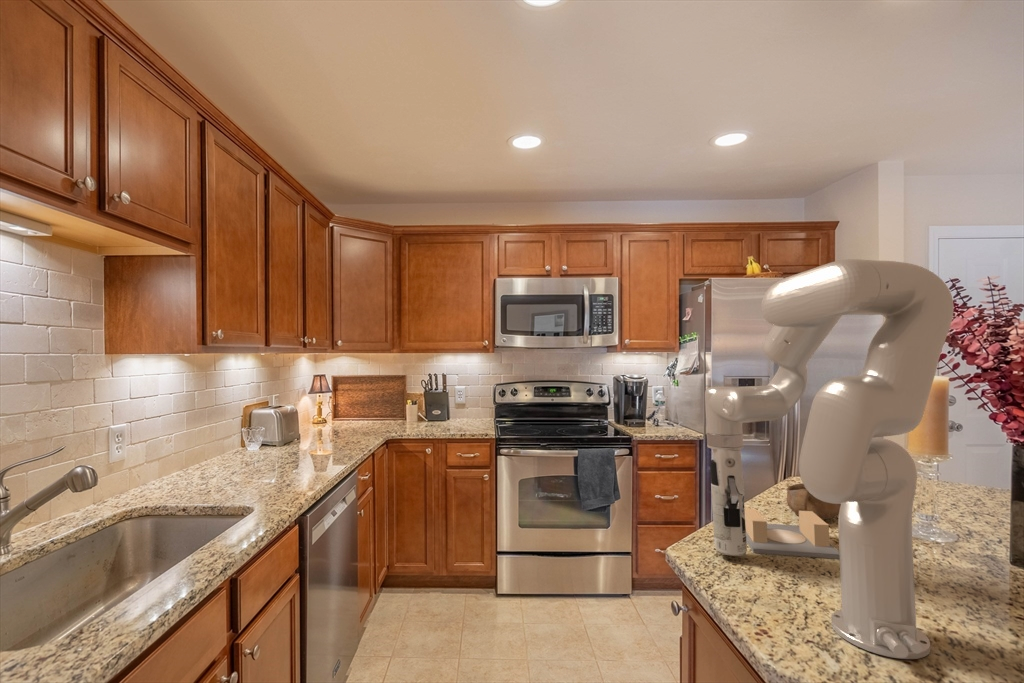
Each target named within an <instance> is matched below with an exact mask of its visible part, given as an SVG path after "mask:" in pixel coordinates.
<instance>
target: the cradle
mask: <svg viewBox="0 0 1024 683" xmlns="http://www.w3.org/2000/svg"><path fill="white" fill-rule="evenodd" d="M744 509H745V526H746V542H747V545H748V547H749V548H750V550H751V551H752V553H753V554H764V555H776V556H777V555H779V556H791V557H805V558H807V557H808V558H818V559H819V558H821V559H835V560H840V554H839V550H838V549H837V548H836V547H835V546H834V545H833V544H832V543H830V528H829V527H830V525H829V524H828V523H827V522H826V521H824V519H823V520H822V519H821V518H820V517H818V516H817V515H816V514H815V513H814V512H812V511H799V517H798V523H799V525H797V524H780V523H779V524H778V523H767V520H766V519H765V518H764V517H763V515H762V514H761V513H760V512H759V511H758V509H757V508H754V507H753V508H752V507H744Z"/></svg>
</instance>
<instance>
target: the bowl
mask: <svg viewBox="0 0 1024 683" xmlns="http://www.w3.org/2000/svg"><path fill="white" fill-rule="evenodd" d="M786 505H787V506H788V508H789V509H790V510H791V511H792V512H793V513H794V514H795V515H796V517H798V518H799V511H812V512H814V513H815V514H816V515H817V516H818V517H820V518H821V519H822V520H823V521H824V520H829V519H832V518H835V517H839V511H840V506H841V504H832V503H827V502H823V501H821V500H819V499H817V498H815V497H814V496H813V495H811V494H810V493H809V492H808V490H807V489H806V488H805V486H804V484H803V482H802V483H796V484H792V485H789V486H788V487H787V488H786Z"/></svg>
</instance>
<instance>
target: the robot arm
mask: <svg viewBox="0 0 1024 683" xmlns="http://www.w3.org/2000/svg"><path fill="white" fill-rule="evenodd" d="M760 304H761V306H760V310H761V314H762V317H763V318H764V319H765V321H766V322H767V323H768V324H770V325H772V327H771V329H770V330H769V331H768V333H767V334H766V337H765V338H764V339H763V341H762V344H761V349H762V352H763V353H764V355H765V356H766V357H767V359H769V360H770V361H772V362H773V363H774V364H776V365H777V366H778V368H777V371H776V372H775V374H774V376H773V377H772V378H771V380H769V382H768V384H767V385H751V386H750V385H749V386H739V387H738V386H737V387H736V386H711V387H707V388H706V390H705V392H704V406H705V407H704V408H705V424H706V427H705V428H706V446H707V448H709V449H711V451H712V460H714V462H716V465H717V477H718V484H719V490H720V493H721V494H723V496H724V503H725V507H723V509H724V525H725V526H726V527H740V526H741V524H740V508H739V500H738V493H739V494H740V495H742V496H743V495H744V496H745V493H746V490H745V489H746V488H745V480H744V469H743V468H744V467H743V463H742V462H743V460H742V456H741V450H743V449H744V434H743V433H744V432H743V424H744V423H748V424H749V423H757V422H766V421H767V422H769V421H777V420H780V419H782V418H783V417H785V416H786V415H788V413H789V412H791V411H792V410H793V408H794V407H795V405H796V404H797V403H798V402H799V400H800V399H801V398H802V396H803V395H804V393H805V391H806V388H807V383H808V370H807V369H808V368H807V364H808V362H809V361H810V359H811V358H812V356H813V355H814V354H815V352H816V351H817V350H818V349H819V347H820V346H821V344H823V342H824V340H825V339H826V338H827V336H828V335H829V334H830V332H831V331H832V330H833V329H834V327H835V326H836V324H837V323H838V321H839V320H840V319H841V318H842V316H845V315H846V316H850V315H851V316H852V315H853V316H854V315H855V316H856V315H857V316H858V315H859V316H861V315H862V316H867V315H868V316H876V315H877V316H883V317H884V319H885V320H884V321H883V322H884V323H883V324H882V325H881V326H880V328H879V329H878V330H877V332H876V333H875V334H874V336H873V338H872V339H871V341H870V343H869V345H868V349H867V353H866V359H865V362H864V365H863V368H862V370H861V371H860V372H861V373H860V374H859V375H844V376H841V377H836V378H833V379H831V380H829V381H828V382H826V383H825V384H823V386H821V388H819V389H818V391H817V393H816V394H815V396H814V398H813V400H812V403H811V406H810V408H809V409H810V410H809V414H808V419H807V423H806V427H805V432H804V435H803V439H802V444H801V449H800V453H799V459H798V470H799V471H798V472H799V476H800V480H801V482H802V483H803V484H804V486H805V488H806V489H807V490H808V492H809V493H810V494H811V495H813V496H814V497H815V498H817V499H819V500H821V501H823V502H827V503H832V504H841V506H840V511H839V515H838V547H839V548H838V549H839V550H838V551H839V554H840V559H839V570H840V571H839V574H840V577H839V578H840V593H841V594H840V595H841V596H840V597H841V598H840V599H841V609H838V610H836V611H834V612H833V613H832V614H831V616H830V623H831V627H832V628H833V630H834V631H835V632H836V634H838V635H839V636H840V637H841V638H842V639H844V640H846V641H847V642H849V643H850V644H852V645H854V646H856V647H858V648H860V649H861V650H862V649H863V650H865V651H867V652H871V653H873V654H877V655H879V656H883V657H888V658H892V659H899V660H900V659H901V660H917V659H922V658H925V657H927V656H928V655H929V654H930V653H931V641H930V639H929V637H928V636H927V635H926V634H925V633H924V632H923V631H921V630H920V629H919V628H918V627H917V616H916V615H917V613H916V610H917V609H916V591H915V574H914V573H915V570H914V567H915V566H914V552H913V551H914V550H913V548H914V547H913V545H914V544H913V543H914V542H913V541H914V540H913V508H914V501H915V494H916V490H917V482H918V473H917V466H916V464H915V462H914V459H913V457H912V456H911V454H910V452H908V450H906V449H905V447H903V446H902V445H900V444H898V443H897V442H894V441H893V440H890V439H889V438H888V439H887V438H883V437H892V436H899V435H903V434H908V433H910V432H911V431H914V430H915V429H916V428H917V427H918V426H919V425H920V424H921V422H922V419H923V417H924V414H925V411H926V406H927V403H928V400H929V396H930V393H931V389H932V386H933V383H934V380H935V376H936V372H937V368H938V363H939V361H940V357H941V353H942V350H943V348H944V345H945V342H946V339H947V337H948V335H949V334H948V333H949V331H950V330H951V329H950V328H951V325H952V321H953V317H954V309H955V308H954V300H953V296H952V293H951V291H950V289H949V287H948V285H947V284H946V282H945V281H944V280H943V279H942V278H941V277H939V275H937V274H936V273H934V272H933V271H931V270H929V269H927V268H925V267H923V266H919V265H917V264H914V263H908V262H902V261H896V260H894V261H893V260H874V259H873V260H872V259H858V258H857V259H855V258H853V259H851V258H850V259H840V260H836V261H831V262H828V263H825V264H822V265H819V266H817V267H814V268H811V269H807V270H805V271H801V272H799V273H796V274H793V275H790V276H787V277H785V278H782V279H779V280H778V281H776V282H775V283H773V284H772V285H771V286H770V287H768V288H767V290H766V291H765V293H764V294H763V297H762V300H761V303H760ZM729 461H731V462H730V463H729ZM728 486H729V490H730V493H726V490H727V489H728ZM737 489H738V493H737ZM727 497H730V498H729V499H728V500H727Z"/></svg>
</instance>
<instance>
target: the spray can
mask: <svg viewBox="0 0 1024 683" xmlns="http://www.w3.org/2000/svg"><path fill="white" fill-rule="evenodd" d="M730 462H731V461H729V463H730ZM709 463H710V465H709V466H710V471H709V472H710V488H711V504H712V505H711V506H712V522H713V524H712V525H713V540H714V541H713V542H714V548H715V550H716V551H717V552H718V553H721V555H727V556H731V557H732V556H733V557H737V556H738V557H740V556H744V555H746V554H747V551H748V546H747V545H748V544H747V542H746V526H745V509H744V508H745V494H744V495H743V496H742V495H740V494H739V493H738V489H737V493H738V500H739V508H740V524H741V526H740V527H726V526H725V525H724V509H723V507H725V503H724V496H723V494H721V493H720V490H719V484H718V477H717V465H716V462H714V460H713V459H711V460H710V461H709ZM726 493H730V490H729V486H728V489H727V490H726ZM729 498H730V497H727V500H728V499H729Z"/></svg>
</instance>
